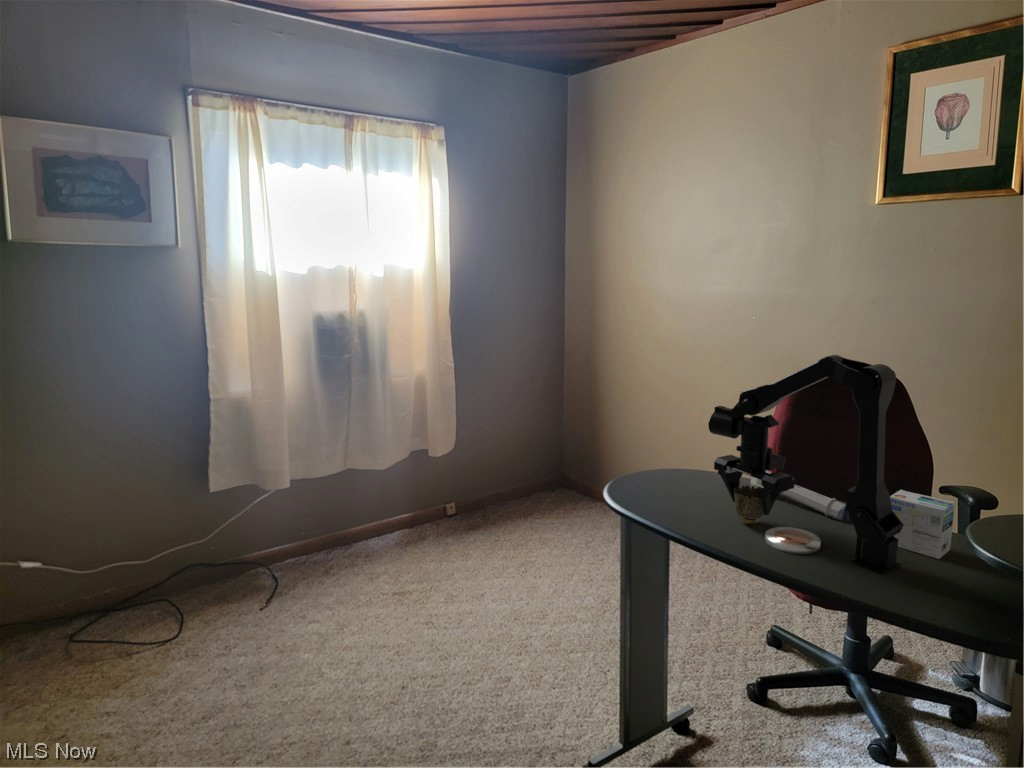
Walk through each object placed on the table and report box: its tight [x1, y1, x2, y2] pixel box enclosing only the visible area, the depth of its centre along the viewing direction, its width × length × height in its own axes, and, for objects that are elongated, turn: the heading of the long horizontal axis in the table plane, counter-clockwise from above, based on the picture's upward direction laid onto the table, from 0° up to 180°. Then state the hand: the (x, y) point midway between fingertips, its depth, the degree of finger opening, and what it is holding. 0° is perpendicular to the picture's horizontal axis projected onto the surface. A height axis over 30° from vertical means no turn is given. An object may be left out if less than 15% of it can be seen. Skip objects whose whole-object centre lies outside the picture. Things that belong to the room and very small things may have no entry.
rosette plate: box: [764, 526, 821, 555], centre depth 143 cm, size 11×11×1 cm
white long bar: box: [749, 470, 849, 522], centre depth 164 cm, size 5×7×25 cm
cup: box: [734, 484, 764, 526], centre depth 152 cm, size 8×7×8 cm
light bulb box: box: [890, 489, 956, 560], centre depth 139 cm, size 11×7×11 cm, turn 41°
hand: (750, 508), depth 152 cm, fingers open, 9 cm apart
